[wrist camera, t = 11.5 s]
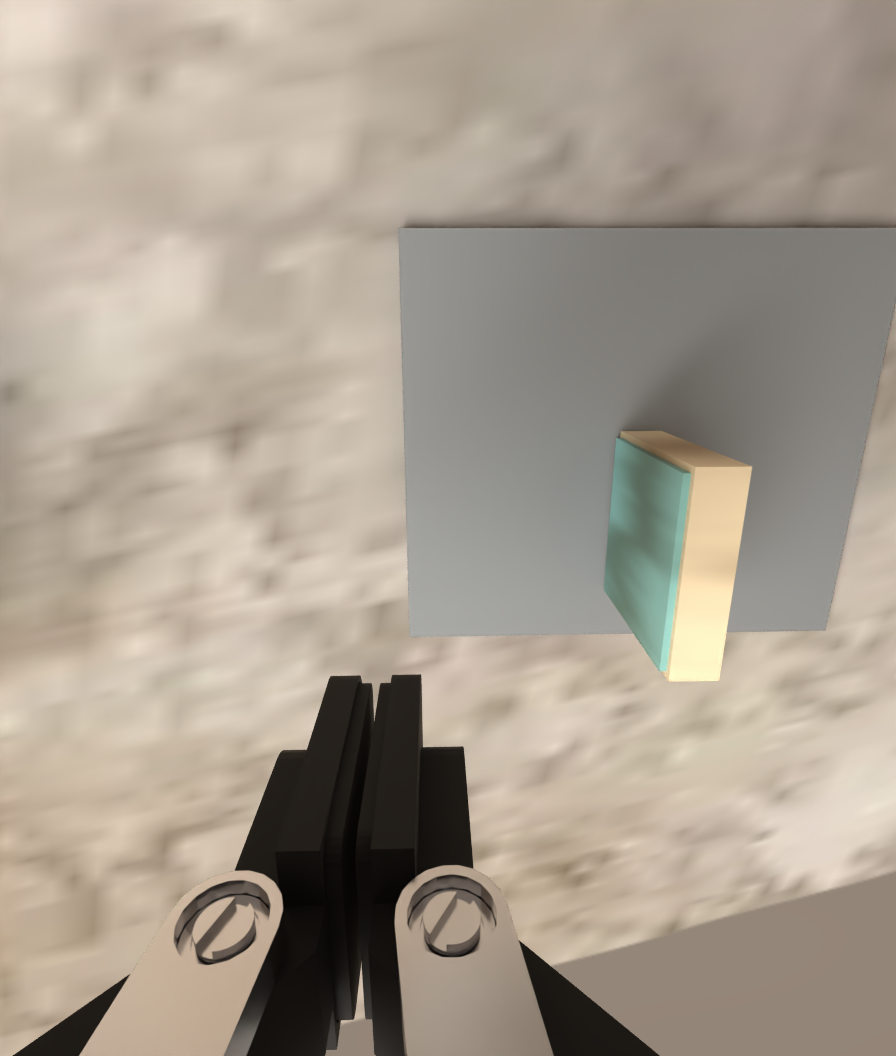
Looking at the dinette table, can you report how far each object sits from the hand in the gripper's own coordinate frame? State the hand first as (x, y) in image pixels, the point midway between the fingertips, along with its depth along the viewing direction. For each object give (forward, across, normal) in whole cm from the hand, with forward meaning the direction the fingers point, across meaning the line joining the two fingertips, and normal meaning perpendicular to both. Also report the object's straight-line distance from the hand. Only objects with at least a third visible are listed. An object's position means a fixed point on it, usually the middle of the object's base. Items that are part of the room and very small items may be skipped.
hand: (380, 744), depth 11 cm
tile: (+8, -8, +2) cm, 11 cm away
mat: (+11, -8, -4) cm, 14 cm away
